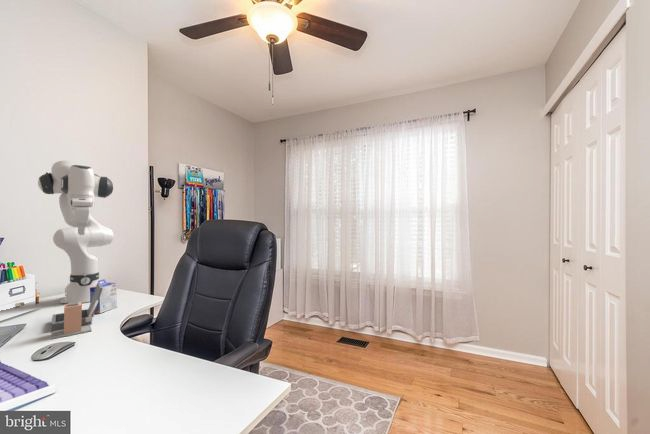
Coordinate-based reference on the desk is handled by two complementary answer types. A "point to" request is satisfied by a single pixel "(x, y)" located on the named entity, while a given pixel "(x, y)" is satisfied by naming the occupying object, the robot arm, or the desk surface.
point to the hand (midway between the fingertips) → (81, 234)
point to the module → (72, 317)
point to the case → (85, 313)
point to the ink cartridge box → (105, 297)
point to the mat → (61, 333)
